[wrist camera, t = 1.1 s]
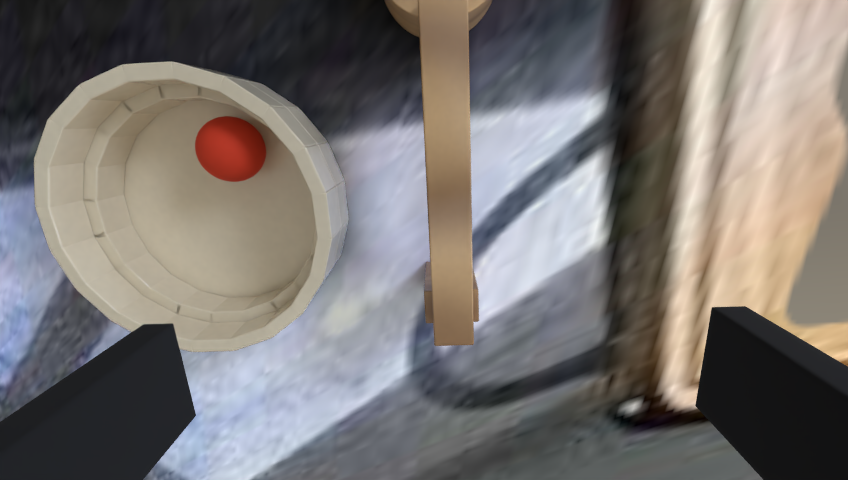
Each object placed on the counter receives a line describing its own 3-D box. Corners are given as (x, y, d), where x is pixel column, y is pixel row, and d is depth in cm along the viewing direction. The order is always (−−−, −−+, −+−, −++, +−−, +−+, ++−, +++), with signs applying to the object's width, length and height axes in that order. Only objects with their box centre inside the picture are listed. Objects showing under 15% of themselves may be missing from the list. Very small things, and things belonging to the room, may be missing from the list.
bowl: (77, 81, 24) (-12, 71, 19) (335, 66, 23) (309, 52, 18) (143, 316, 28) (84, 355, 24) (360, 308, 28) (345, 348, 23)
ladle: (375, -89, 21) (346, -190, 14) (497, -98, 21) (528, -206, 14) (402, 290, 27) (391, 347, 20) (496, 286, 27) (517, 343, 20)
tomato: (211, 118, 24) (173, 117, 20) (270, 114, 24) (242, 114, 20) (223, 178, 25) (189, 188, 21) (280, 175, 25) (254, 184, 21)
